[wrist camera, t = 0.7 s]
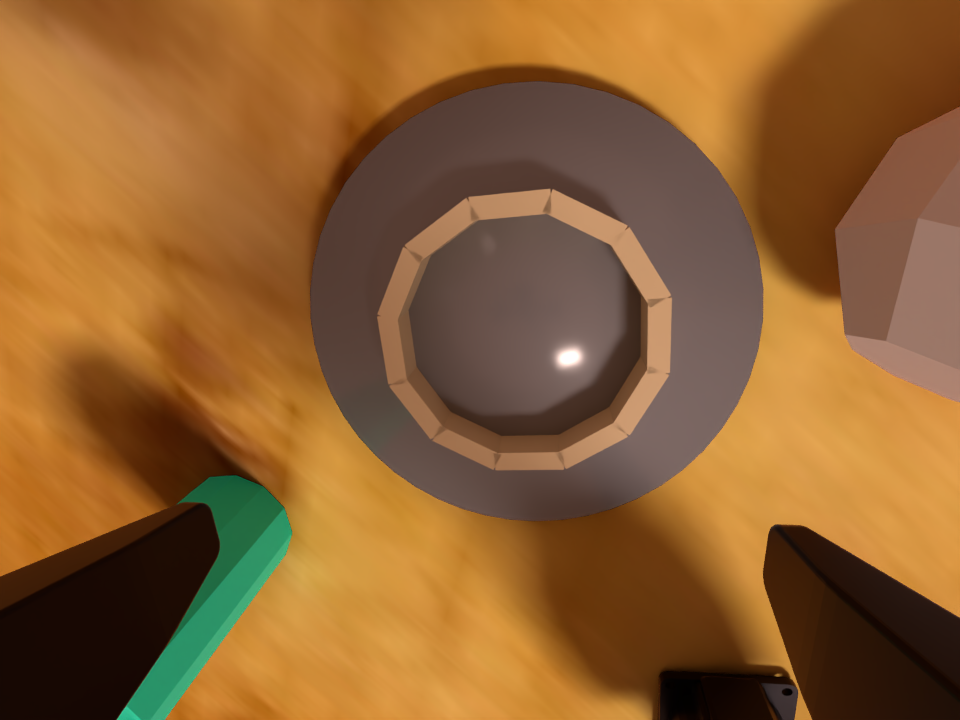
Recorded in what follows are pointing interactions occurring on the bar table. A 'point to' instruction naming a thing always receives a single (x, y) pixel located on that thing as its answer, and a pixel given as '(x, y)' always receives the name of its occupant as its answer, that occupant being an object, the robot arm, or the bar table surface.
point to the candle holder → (536, 301)
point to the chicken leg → (907, 260)
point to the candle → (217, 588)
